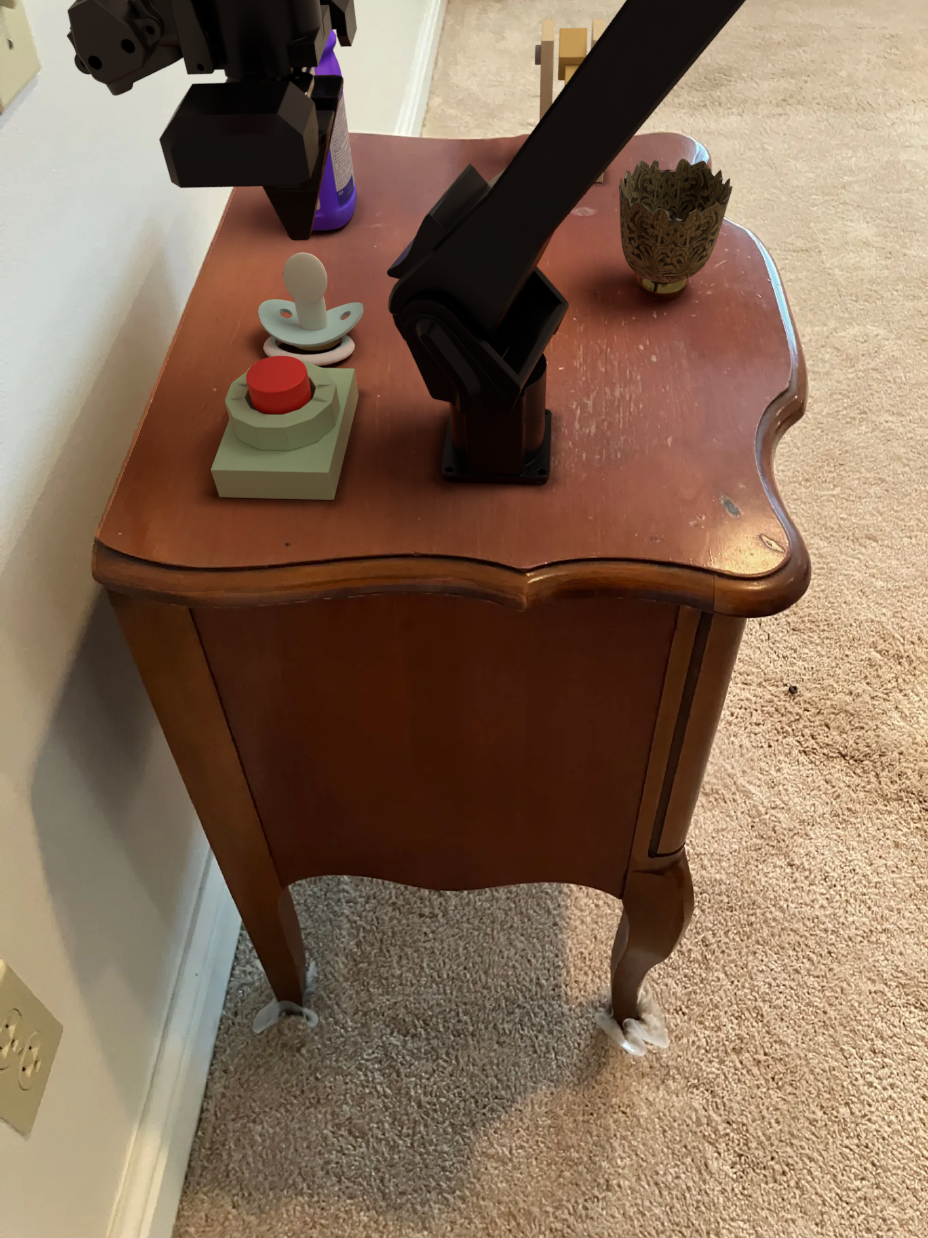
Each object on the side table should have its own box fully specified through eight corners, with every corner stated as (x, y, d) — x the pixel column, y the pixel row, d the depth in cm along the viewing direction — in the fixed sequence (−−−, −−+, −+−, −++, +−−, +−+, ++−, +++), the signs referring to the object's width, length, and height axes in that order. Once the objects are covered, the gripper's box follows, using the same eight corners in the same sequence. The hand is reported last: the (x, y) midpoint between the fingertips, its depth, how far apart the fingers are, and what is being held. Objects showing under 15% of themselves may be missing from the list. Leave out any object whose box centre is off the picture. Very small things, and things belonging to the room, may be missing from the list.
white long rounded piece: (588, 160, 75) (591, 131, 72) (548, 160, 76) (549, 132, 73) (591, 55, 78) (594, 22, 75) (552, 55, 78) (553, 23, 75)
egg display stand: (602, 182, 80) (612, 48, 72) (531, 182, 80) (533, 49, 72) (601, 139, 85) (610, 10, 77) (534, 140, 85) (537, 11, 77)
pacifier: (354, 375, 64) (372, 322, 68) (341, 294, 59) (360, 242, 63) (251, 370, 65) (273, 318, 68) (229, 289, 60) (254, 238, 64)
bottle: (297, 193, 81) (254, -47, 67) (363, 192, 80) (333, -49, 67) (283, 237, 76) (234, -11, 62) (353, 236, 76) (319, -14, 62)
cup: (709, 263, 71) (728, 156, 65) (716, 319, 66) (737, 209, 60) (610, 262, 72) (619, 155, 65) (609, 317, 67) (619, 208, 61)
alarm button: (305, 416, 55) (300, 392, 54) (245, 415, 56) (239, 391, 54) (316, 379, 58) (311, 355, 56) (258, 378, 58) (252, 354, 57)
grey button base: (334, 500, 56) (323, 448, 53) (219, 497, 57) (202, 445, 54) (358, 395, 62) (350, 343, 59) (255, 394, 63) (242, 342, 60)
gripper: (114, -156, 47) (196, 162, 59) (-27, -30, 35) (112, 336, 47) (336, -165, 46) (373, 158, 58) (269, -41, 34) (333, 333, 46)
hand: (300, 237), depth 52 cm, fingers closed
